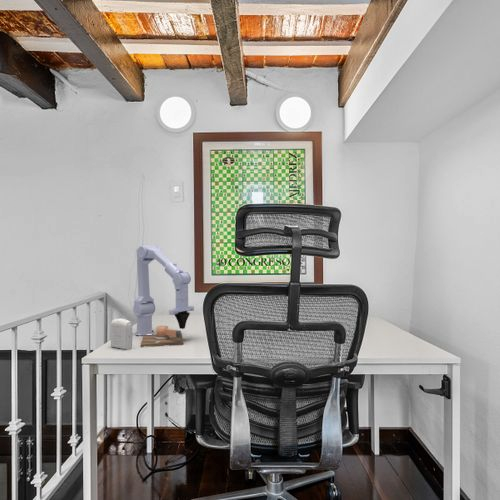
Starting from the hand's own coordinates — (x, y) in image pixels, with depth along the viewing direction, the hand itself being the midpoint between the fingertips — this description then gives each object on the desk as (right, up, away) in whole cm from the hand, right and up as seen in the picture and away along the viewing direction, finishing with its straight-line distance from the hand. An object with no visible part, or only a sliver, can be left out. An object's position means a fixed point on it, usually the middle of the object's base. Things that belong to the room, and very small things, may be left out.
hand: (182, 328), depth 177 cm
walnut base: (-9, -6, -1) cm, 11 cm away
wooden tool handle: (-5, -3, -3) cm, 7 cm away
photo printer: (-24, -6, -12) cm, 27 cm away
